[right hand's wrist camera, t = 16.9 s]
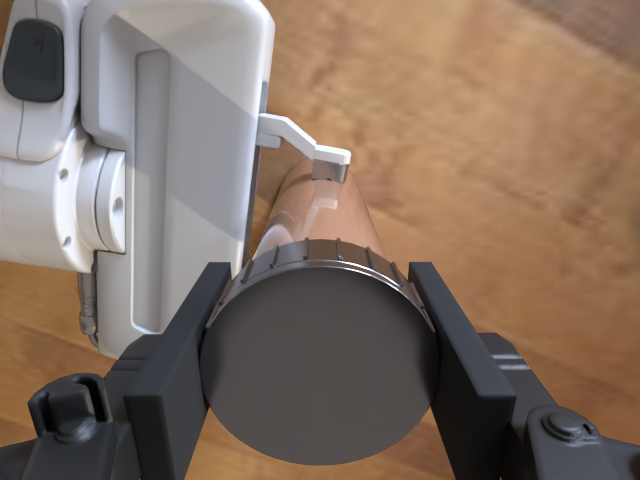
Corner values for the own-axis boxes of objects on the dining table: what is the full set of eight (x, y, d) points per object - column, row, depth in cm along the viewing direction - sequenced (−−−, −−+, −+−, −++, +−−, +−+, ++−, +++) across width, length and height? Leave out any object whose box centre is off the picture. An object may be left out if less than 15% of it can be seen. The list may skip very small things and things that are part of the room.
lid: (192, 247, 11) (169, 277, 9) (423, 223, 11) (443, 248, 9) (235, 425, 13) (222, 476, 12) (428, 407, 13) (445, 457, 11)
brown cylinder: (364, 160, 27) (438, 280, 10) (353, 235, 29) (399, 443, 12) (284, 151, 27) (223, 259, 10) (278, 228, 29) (218, 427, 12)
